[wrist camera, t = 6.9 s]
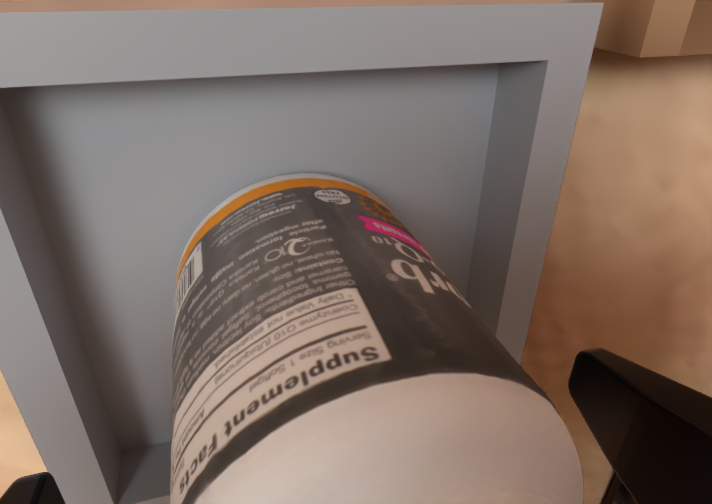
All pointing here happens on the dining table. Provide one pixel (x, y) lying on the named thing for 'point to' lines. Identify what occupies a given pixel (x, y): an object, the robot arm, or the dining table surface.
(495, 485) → the pill bottle
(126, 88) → the tray
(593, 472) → the dining table surface
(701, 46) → the socket collar
